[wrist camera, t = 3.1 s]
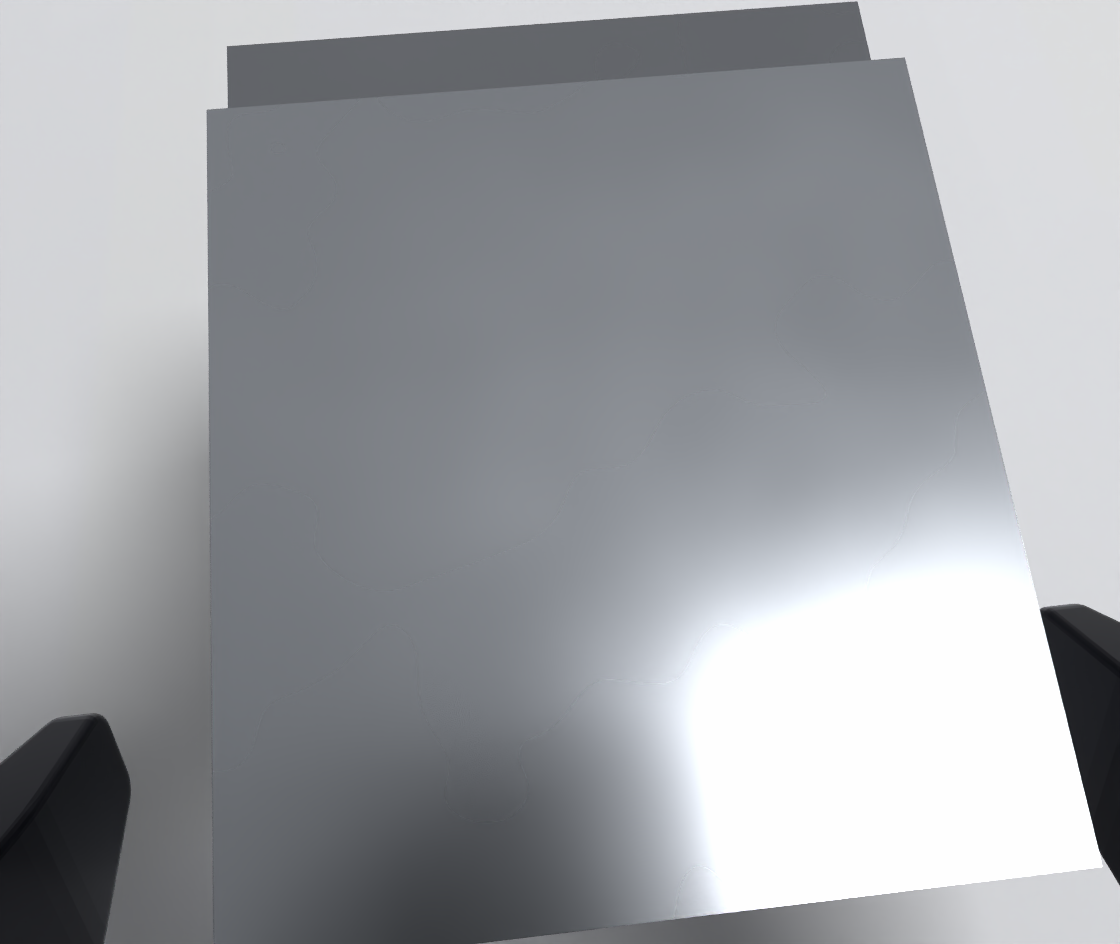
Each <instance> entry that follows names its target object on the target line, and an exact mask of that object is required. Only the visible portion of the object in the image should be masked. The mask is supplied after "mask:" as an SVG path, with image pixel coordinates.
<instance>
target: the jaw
mask: <svg viewBox="0 0 1120 944" xmlns="http://www.w3.org/2000/svg"><path fill="white" fill-rule="evenodd" d="M227 73H228V108H224V109H211V110H207V203H208V323H209V443H210V563H211V683H212V803H213V923H214V944H478V943H486V942H494V941H502V940H511V939H519V938H527V937H535V936H543V935H551V934H559V933H568V932H576V931H584V930H592V929H600V928H608V927H616V926H625V925H633V924H641V923H649V922H657V921H665V920H673V919H681V918H690V917H698V916H706V915H714V914H722V913H730V912H738V911H747V910H755V909H763V908H771V907H779V906H787V905H795V904H804V903H812V902H820V901H828V900H836V899H844V898H852V897H860V896H869V895H877V894H885V893H893V892H901V891H909V890H917V889H926V888H934V887H942V886H950V885H958V884H966V883H974V882H983V881H991V880H999V879H1007V878H1015V877H1023V876H1031V875H1040V874H1048V873H1056V872H1064V871H1072V870H1080V869H1088V868H1096V867H1102V863H1101V859H1100V855H1099V851H1098V847H1097V843H1096V839H1095V834H1094V830H1093V826H1092V822H1091V818H1090V814H1089V810H1088V806H1087V802H1086V798H1085V793H1084V789H1083V785H1082V781H1081V777H1080V773H1079V769H1078V765H1077V761H1076V757H1075V753H1074V748H1073V744H1072V740H1071V736H1070V732H1069V728H1068V724H1067V720H1066V716H1065V712H1064V708H1063V703H1062V699H1061V695H1060V691H1059V687H1058V683H1057V679H1056V675H1055V671H1054V667H1053V663H1052V658H1051V654H1050V650H1049V646H1048V642H1047V638H1046V634H1045V630H1044V626H1043V622H1042V618H1041V613H1040V609H1039V605H1038V601H1037V597H1036V593H1035V589H1034V585H1033V581H1032V577H1031V572H1030V568H1029V564H1028V560H1027V556H1026V552H1025V548H1024V544H1023V540H1022V536H1021V532H1020V527H1019V523H1018V519H1017V515H1016V511H1015V507H1014V503H1013V499H1012V495H1011V491H1010V487H1009V482H1008V478H1007V474H1006V470H1005V466H1004V462H1003V458H1002V454H1001V450H1000V446H999V442H998V437H997V433H996V429H995V425H994V421H993V417H992V413H991V409H990V405H989V401H988V396H987V392H986V388H985V384H984V380H983V376H982V372H981V368H980V364H979V360H978V356H977V351H976V347H975V343H974V339H973V335H972V331H971V327H970V323H969V319H968V315H967V311H966V306H965V302H964V298H963V294H962V290H961V286H960V282H959V278H958V274H957V270H956V266H955V261H954V257H953V253H952V249H951V245H950V241H949V237H948V233H947V229H946V225H945V221H944V216H943V212H942V208H941V204H940V200H939V196H938V192H937V188H936V184H935V180H934V175H933V171H932V167H931V163H930V159H929V155H928V151H927V147H926V143H925V139H924V135H923V130H922V126H921V122H920V118H919V114H918V110H917V106H916V102H915V98H914V94H913V90H912V85H911V81H910V77H909V73H908V69H907V65H906V61H905V58H893V59H880V60H871V58H870V54H869V49H868V45H867V41H866V37H865V32H864V28H863V24H862V19H861V15H860V11H859V6H858V2H843V3H829V4H815V5H801V6H787V7H773V8H759V9H744V10H730V11H716V12H702V13H688V14H674V15H660V16H646V17H632V18H618V19H604V20H590V21H576V22H562V23H548V24H534V25H520V26H506V27H492V28H478V29H464V30H450V31H436V32H422V33H408V34H394V35H380V36H366V37H352V38H338V39H324V40H310V41H296V42H282V43H268V44H254V45H240V46H227Z"/></svg>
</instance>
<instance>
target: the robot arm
mask: <svg viewBox="0 0 1120 944" xmlns="http://www.w3.org/2000/svg"><path fill="white" fill-rule="evenodd" d="M1040 613H1041V618H1042V622H1043V626H1044V630H1045V634H1046V638H1047V642H1048V646H1049V650H1050V654H1051V658H1052V663H1053V667H1054V671H1055V675H1056V679H1057V683H1058V687H1059V691H1060V695H1061V699H1062V703H1063V708H1064V712H1065V716H1066V720H1067V724H1068V728H1069V732H1070V736H1071V740H1072V744H1073V748H1074V753H1075V757H1076V761H1077V765H1078V769H1079V773H1080V777H1081V781H1082V785H1083V789H1084V793H1085V798H1086V802H1087V806H1088V810H1089V814H1090V818H1091V822H1092V826H1093V830H1094V834H1095V839H1096V843H1097V847H1098V850H1099V852H1100V853H1101V855H1102V857H1103V859H1104V860H1105V862H1106V864H1107V865H1108V867H1109V868H1110V870H1111V872H1112V873H1113V875H1114V877H1115V878H1116V880H1117V882H1118V883H1119V885H1120V622H1118V621H1116V620H1114V619H1112V618H1110V617H1108V616H1106V615H1103V614H1101V613H1099V612H1097V611H1095V610H1093V609H1091V608H1089V607H1087V606H1084V605H1080V604H1067V605H1058V606H1050V607H1043V608H1041V609H1040ZM130 796H131V786H130V778H129V774H128V771H127V769H126V766H125V764H124V761H123V758H122V756H121V753H120V751H119V748H118V746H117V743H116V741H115V738H114V736H113V733H112V731H111V728H110V726H109V724H108V722H107V720H106V719H105V718H104V717H103V716H101V715H99V714H95V713H92V714H83V715H74V716H65V717H60V718H56V719H54V720H52V721H51V722H49V723H48V724H47V725H45V726H44V727H43V728H42V729H41V730H39V731H38V732H37V733H36V734H35V735H33V736H32V737H31V738H30V739H29V740H27V741H26V742H25V743H24V744H23V745H22V746H20V747H19V748H18V749H17V750H16V751H14V752H13V753H12V754H11V755H10V756H8V757H7V758H6V759H5V760H4V761H3V762H1V763H0V944H104V940H105V935H106V930H107V925H108V919H109V914H110V908H111V903H112V897H113V892H114V886H115V881H116V875H117V870H118V864H119V859H120V853H121V848H122V842H123V837H124V832H125V826H126V821H127V815H128V810H129V804H130Z"/></svg>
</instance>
